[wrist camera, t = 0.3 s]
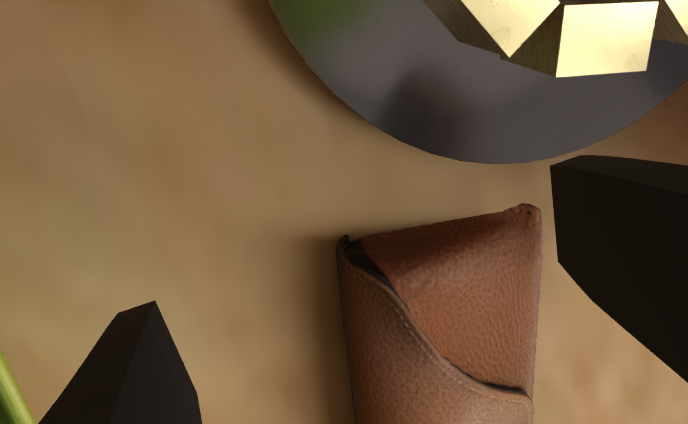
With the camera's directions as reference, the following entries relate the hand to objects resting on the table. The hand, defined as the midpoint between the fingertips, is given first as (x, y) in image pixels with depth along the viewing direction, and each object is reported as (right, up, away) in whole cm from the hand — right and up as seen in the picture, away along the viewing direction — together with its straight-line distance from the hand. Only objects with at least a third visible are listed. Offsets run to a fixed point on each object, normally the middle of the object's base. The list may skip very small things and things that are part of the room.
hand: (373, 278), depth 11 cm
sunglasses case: (+4, -7, +16) cm, 18 cm away
